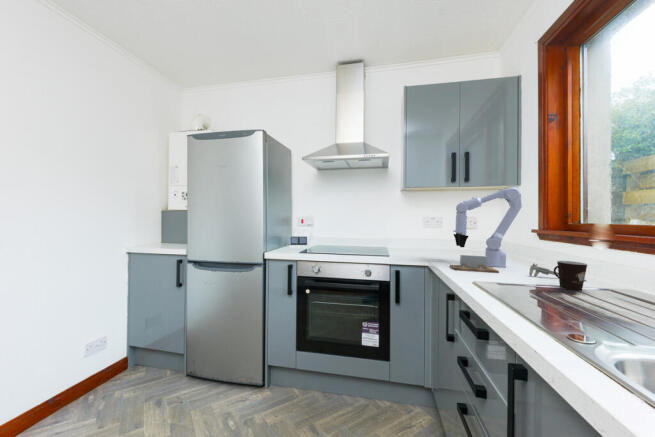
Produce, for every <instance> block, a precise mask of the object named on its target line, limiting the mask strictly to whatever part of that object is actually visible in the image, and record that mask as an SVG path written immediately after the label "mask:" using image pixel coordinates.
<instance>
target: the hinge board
mask: <svg viewBox="0 0 655 437" xmlns="http://www.w3.org/2000/svg"><path fill="white" fill-rule="evenodd" d="M449 267H450V268H451V269H452V270H454V271H461V272H462V271H463V272H476V273H477V272H479V273H497V274H499V273H500V270H498V269H495V268H493V266H487V265H486V264H480V268H469V263H462V267H460V264H449Z"/></svg>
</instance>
